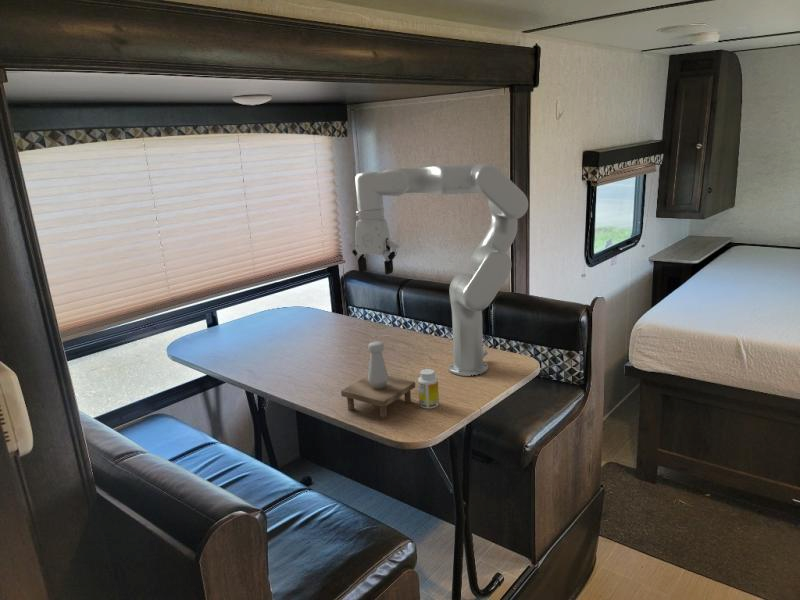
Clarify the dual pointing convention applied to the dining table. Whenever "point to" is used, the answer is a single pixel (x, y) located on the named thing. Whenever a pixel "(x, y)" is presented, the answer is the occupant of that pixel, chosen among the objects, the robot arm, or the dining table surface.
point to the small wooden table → (378, 393)
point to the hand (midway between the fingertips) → (375, 272)
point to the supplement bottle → (428, 389)
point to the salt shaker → (377, 366)
